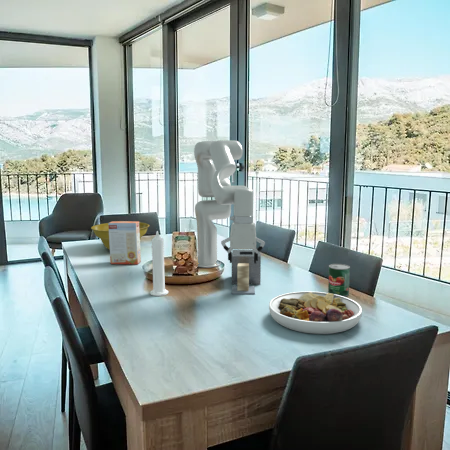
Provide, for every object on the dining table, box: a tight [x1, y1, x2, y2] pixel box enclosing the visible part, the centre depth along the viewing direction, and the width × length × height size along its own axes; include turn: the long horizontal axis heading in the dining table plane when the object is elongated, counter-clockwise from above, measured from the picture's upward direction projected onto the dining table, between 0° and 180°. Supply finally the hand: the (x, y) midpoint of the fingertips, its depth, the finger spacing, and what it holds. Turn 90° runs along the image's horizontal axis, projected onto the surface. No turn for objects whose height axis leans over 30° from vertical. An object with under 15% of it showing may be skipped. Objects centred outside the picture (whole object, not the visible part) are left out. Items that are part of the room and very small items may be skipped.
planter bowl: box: [90, 221, 150, 251], centre depth 257 cm, size 32×32×13 cm
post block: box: [231, 249, 262, 286], centre depth 194 cm, size 12×12×12 cm
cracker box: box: [107, 220, 142, 265], centre depth 224 cm, size 14×6×21 cm, turn 84°
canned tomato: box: [327, 263, 351, 297], centre depth 176 cm, size 8×8×11 cm
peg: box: [236, 263, 250, 291], centre depth 180 cm, size 4×4×10 cm
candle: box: [149, 230, 169, 297], centre depth 176 cm, size 7×7×25 cm
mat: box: [231, 285, 256, 295], centre depth 181 cm, size 9×9×1 cm
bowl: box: [268, 291, 363, 335], centre depth 150 cm, size 30×30×8 cm
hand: (242, 262), depth 180 cm, fingers open, 9 cm apart
